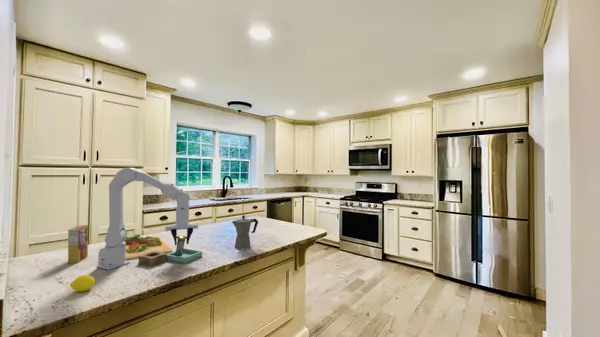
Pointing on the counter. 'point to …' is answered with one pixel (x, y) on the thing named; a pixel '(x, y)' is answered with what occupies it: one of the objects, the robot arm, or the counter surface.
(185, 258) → the tray
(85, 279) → the lemon
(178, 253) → the pin
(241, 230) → the coffeepot
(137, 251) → the cutting board
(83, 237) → the candy box
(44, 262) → the counter surface
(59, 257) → the counter surface
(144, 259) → the block
